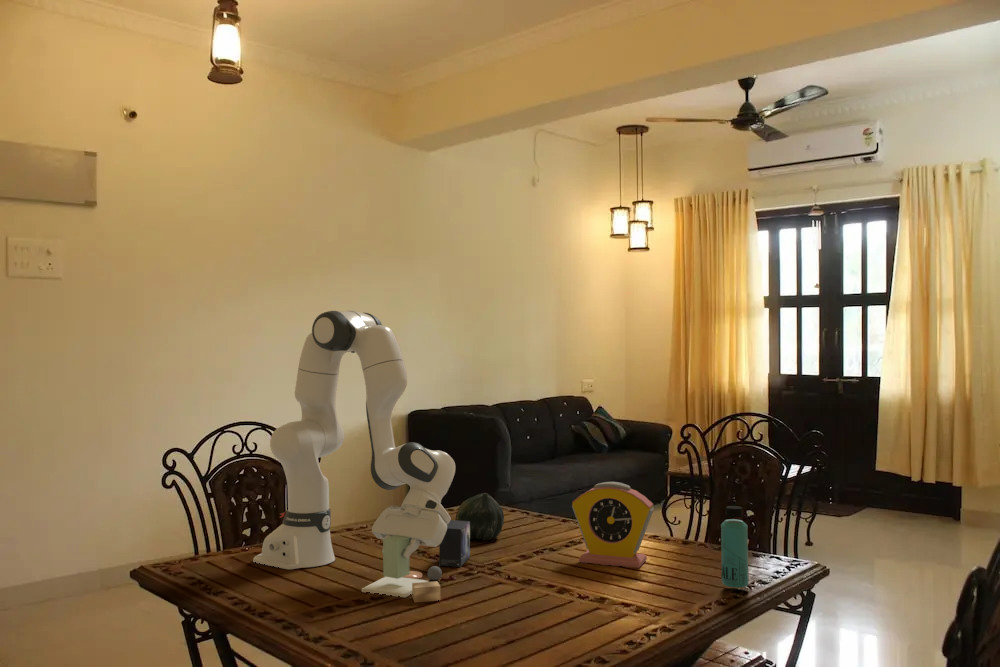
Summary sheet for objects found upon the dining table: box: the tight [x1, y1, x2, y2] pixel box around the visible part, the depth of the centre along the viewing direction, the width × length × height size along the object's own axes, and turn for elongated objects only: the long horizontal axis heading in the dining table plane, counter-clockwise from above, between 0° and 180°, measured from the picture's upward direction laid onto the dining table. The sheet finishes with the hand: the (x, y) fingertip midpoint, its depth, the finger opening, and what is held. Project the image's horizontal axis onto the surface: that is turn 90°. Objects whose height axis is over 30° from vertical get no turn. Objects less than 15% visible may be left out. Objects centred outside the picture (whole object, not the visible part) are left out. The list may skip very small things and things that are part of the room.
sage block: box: [382, 536, 411, 579], centre depth 200 cm, size 4×4×9 cm
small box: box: [438, 519, 471, 568], centre depth 224 cm, size 11×6×10 cm, turn 168°
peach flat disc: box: [403, 570, 423, 579], centre depth 210 cm, size 7×7×1 cm
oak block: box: [411, 580, 441, 603], centre depth 191 cm, size 6×4×4 cm, turn 104°
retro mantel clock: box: [571, 481, 655, 569], centre depth 223 cm, size 22×9×22 cm, turn 68°
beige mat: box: [361, 576, 430, 598], centre depth 200 cm, size 12×12×1 cm
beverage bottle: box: [720, 505, 750, 588], centre depth 197 cm, size 6×7×20 cm
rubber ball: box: [427, 565, 443, 582], centre depth 206 cm, size 4×4×4 cm
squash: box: [454, 492, 505, 542], centre depth 251 cm, size 14×15×15 cm
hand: (394, 555), depth 200 cm, fingers closed on sage block, 4 cm apart
